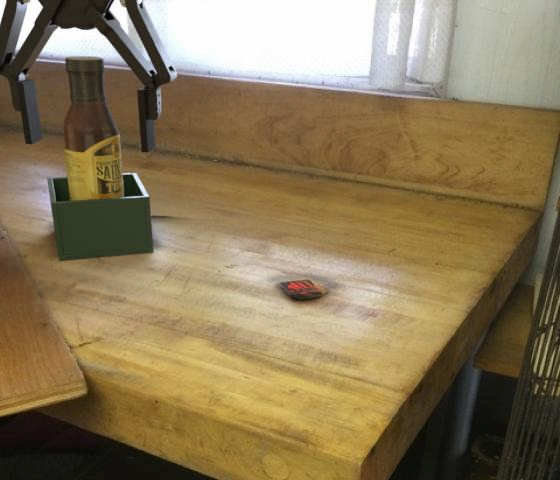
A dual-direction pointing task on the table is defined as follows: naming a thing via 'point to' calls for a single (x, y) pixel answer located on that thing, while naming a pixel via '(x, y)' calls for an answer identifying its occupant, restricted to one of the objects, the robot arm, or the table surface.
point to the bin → (101, 221)
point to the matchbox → (303, 288)
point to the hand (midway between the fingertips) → (90, 145)
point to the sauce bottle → (91, 134)
